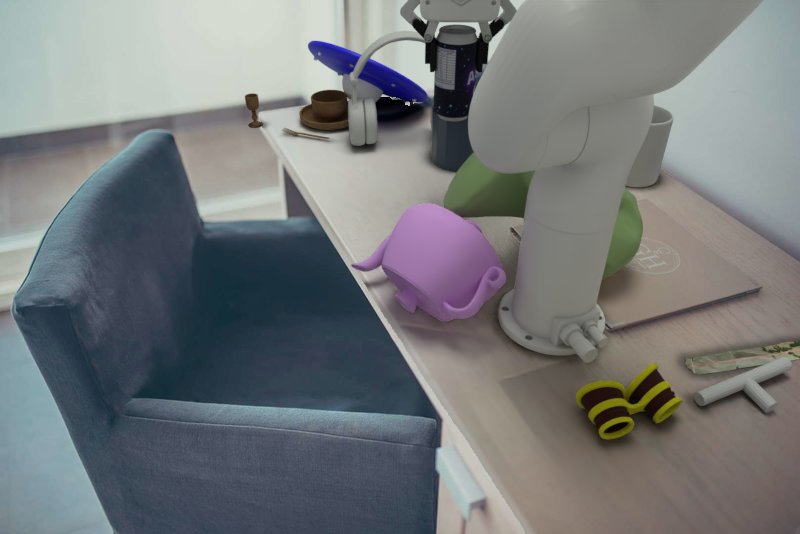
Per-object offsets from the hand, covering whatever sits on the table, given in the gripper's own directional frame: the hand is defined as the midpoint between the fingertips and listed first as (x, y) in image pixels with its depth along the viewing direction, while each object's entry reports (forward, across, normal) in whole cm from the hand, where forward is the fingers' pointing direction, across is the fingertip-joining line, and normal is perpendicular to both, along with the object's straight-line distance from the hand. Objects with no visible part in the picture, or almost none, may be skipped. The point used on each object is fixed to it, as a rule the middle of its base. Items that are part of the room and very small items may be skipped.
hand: (455, 67), depth 88 cm
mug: (+22, +29, +9) cm, 37 cm away
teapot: (+13, 0, -21) cm, 24 cm away
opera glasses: (+22, +16, -43) cm, 50 cm away
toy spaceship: (+13, -14, +36) cm, 41 cm away
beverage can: (+7, 0, 0) cm, 7 cm away
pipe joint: (+20, +29, -38) cm, 52 cm away
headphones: (+21, -7, +22) cm, 31 cm away
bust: (+4, +2, -17) cm, 17 cm away
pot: (+21, +3, +15) cm, 26 cm away
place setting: (+21, -25, +32) cm, 46 cm away
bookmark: (+22, +35, -33) cm, 53 cm away
